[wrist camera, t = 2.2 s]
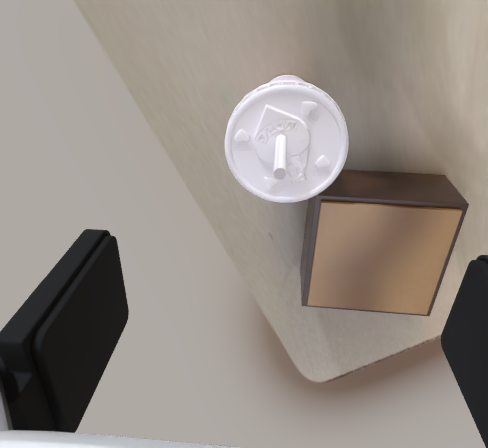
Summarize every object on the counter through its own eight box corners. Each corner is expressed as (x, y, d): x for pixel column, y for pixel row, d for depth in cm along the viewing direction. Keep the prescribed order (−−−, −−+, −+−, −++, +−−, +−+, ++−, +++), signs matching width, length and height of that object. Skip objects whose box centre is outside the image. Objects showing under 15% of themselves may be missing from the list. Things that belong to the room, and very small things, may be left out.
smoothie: (313, 36, 26) (334, 78, 14) (344, 124, 29) (383, 222, 17) (226, 78, 28) (181, 146, 16) (263, 157, 31) (247, 266, 19)
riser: (445, 175, 30) (470, 206, 26) (413, 278, 35) (430, 319, 31) (312, 167, 31) (315, 196, 27) (300, 270, 36) (301, 308, 32)
